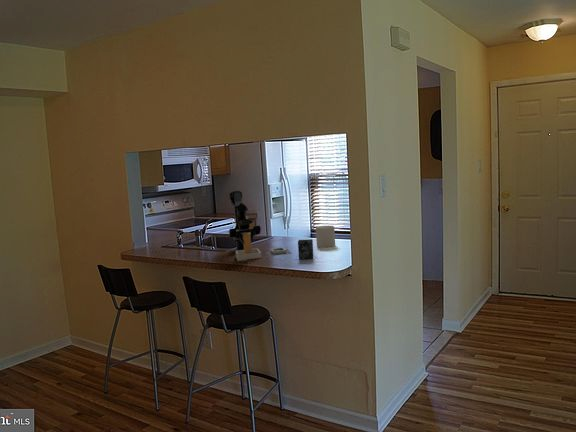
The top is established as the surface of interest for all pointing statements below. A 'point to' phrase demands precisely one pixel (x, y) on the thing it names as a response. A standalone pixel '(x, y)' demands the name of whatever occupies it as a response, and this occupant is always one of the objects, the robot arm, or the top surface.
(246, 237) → the strut
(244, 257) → the bin
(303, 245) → the box
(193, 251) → the top surface
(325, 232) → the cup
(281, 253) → the socket mount
